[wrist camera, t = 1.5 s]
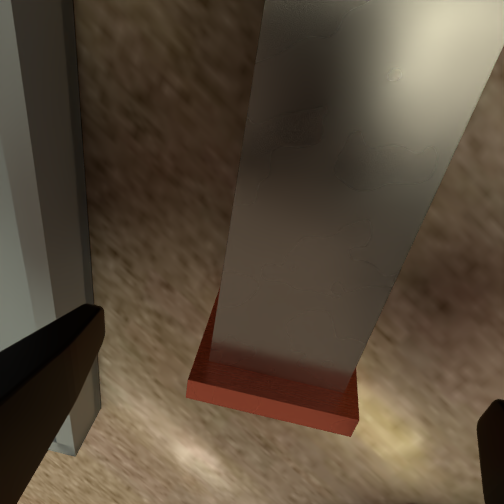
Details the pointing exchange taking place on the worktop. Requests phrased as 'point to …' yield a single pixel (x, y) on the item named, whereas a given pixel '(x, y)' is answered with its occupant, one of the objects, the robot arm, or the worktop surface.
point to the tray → (43, 187)
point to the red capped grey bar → (335, 192)
